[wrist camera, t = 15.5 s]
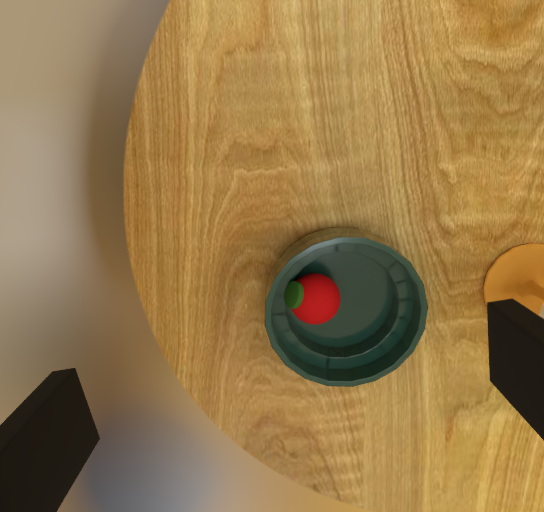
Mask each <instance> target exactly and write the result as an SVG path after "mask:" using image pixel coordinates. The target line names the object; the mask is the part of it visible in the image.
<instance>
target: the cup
mask: <svg viewBox="0 0 544 512" xmlns="http://www.w3.org/2000/svg"><path fill="white" fill-rule="evenodd" d="M483 293H484V300H485V304H486V305H487V302H493V301H499V300H505V299H511V298H513V299H514V300H516V301H517V302H519V303H521V304H522V305H524V306H525V307H527V308H528V309H530V310H531V311H533V312H534V313H536V314H537V315H539V316H540V317H542V318H543V319H544V244H537V243H528V244H524V245H520V246H516V247H513V248H511V249H510V250H508V251H507V252H505V253H504V254H502V255H501V256H499V257H498V258H497V259H496V261H495V262H494V263H493V265H492V266H491V267H490V269H489V270H488V271H487V274H486V278H485V281H484V285H483Z"/></svg>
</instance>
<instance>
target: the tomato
mask: <svg viewBox="0 0 544 512" xmlns="http://www.w3.org/2000/svg"><path fill="white" fill-rule="evenodd" d="M284 300H285V304H286V306H287V307H288V308H291V309H292V311H293V313H294V314H295V316H296V317H297V318H299V319H300V320H301V321H303V322H305V323H308V324H314V325H316V324H322V323H325V322H327V321H329V320H330V319H332V318H333V317H334V316H335V314H336V313H337V311H338V309H339V306H340V292H339V289H338V287H337V285H336V284H335V283H334V282H333V281H332V280H331V279H330V278H329V277H327V276H325V275H322V274H318V273H311V274H307V275H304V276H302V277H300V278H299V279H298V280H297V281H292V282H290V283H289V284H288V286H287V288H286V290H285V296H284Z"/></svg>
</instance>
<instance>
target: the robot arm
mask: <svg viewBox="0 0 544 512" xmlns="http://www.w3.org/2000/svg"><path fill="white" fill-rule="evenodd" d="M487 314H488V341H489V368H490V381H491V382H492V383H493V385H494V386H495V387H496V388H497V389H498V390H499V391H500V392H501V393H502V394H503V396H504V397H505V398H506V399H507V400H508V401H509V402H510V403H511V404H512V406H513V407H514V408H515V409H516V410H517V411H518V412H519V413H520V414H521V416H522V417H523V418H524V419H525V420H526V421H527V422H528V423H529V424H530V426H531V427H532V428H533V429H534V430H535V431H536V432H537V433H538V434H539V436H540V437H541V438H542V439H543V440H544V319H543V318H542V317H540V316H539V315H537V314H536V313H534V312H533V311H531V310H530V309H528V308H527V307H525V306H524V305H522V304H521V303H519V302H517V301H516V300H514V299H513V298H511V299H505V300H499V301H493V302H487ZM99 439H100V438H99V435H98V432H97V429H96V426H95V423H94V421H93V418H92V415H91V412H90V409H89V406H88V403H87V400H86V398H85V395H84V392H83V389H82V386H81V383H80V381H79V378H78V375H77V372H76V369H75V368H71V369H65V370H59V371H53V372H51V374H50V375H49V376H48V377H47V378H46V379H45V380H44V381H43V382H42V383H41V384H40V385H39V386H38V387H37V388H36V389H35V390H34V391H33V392H32V393H31V394H30V395H29V396H28V397H27V398H26V399H25V400H24V401H23V402H22V404H21V405H19V406H18V408H17V409H16V410H15V411H14V412H13V413H12V414H11V415H10V416H9V417H8V418H7V419H6V420H5V421H4V422H3V423H2V424H1V425H0V512H57V510H58V508H59V507H60V505H61V503H62V502H63V499H64V498H65V497H66V495H67V493H68V491H69V490H70V488H71V486H72V485H73V483H74V481H75V479H76V478H77V476H78V475H79V473H80V471H81V470H82V468H83V466H84V464H85V463H86V461H87V459H88V458H89V456H90V454H91V453H92V451H93V449H94V448H95V446H96V444H97V442H98V441H99Z"/></svg>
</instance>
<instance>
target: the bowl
mask: <svg viewBox="0 0 544 512" xmlns="http://www.w3.org/2000/svg"><path fill="white" fill-rule="evenodd" d="M311 273H318V274H322V275H325V276H327V277H329V278H330V279H331V280H332V281H333V282H334V283H335V284H336V285H337V287H338V289H339V292H340V306H339V309H338V311H337V313H336V314H335V316H334V317H333V318H332V319H330V320H329V321H327V322H325V323H322V324H316V325H314V324H308V323H305V322H303V321H301V320H300V319H299V318H297V317H296V316H295V314H294V313H293V311H292V309H291V308H288V307H287V306H286V304H285V300H284V296H285V290H286V288H287V286H288V284H289V283H290V282H292V281H297V280H298V279H299V278H300V277H302V276H304V275H307V274H311ZM427 310H428V305H427V299H426V294H425V289H424V284H423V282H422V280H421V279H420V277H419V276H418V274H417V272H416V271H415V269H414V267H413V266H412V264H411V263H410V262H409V261H408V260H407V259H406V258H405V257H404V256H403V255H401V254H400V253H399V252H398V251H397V250H396V249H395V248H393V247H392V246H391V245H390V244H388V243H387V242H386V241H385V240H383V239H382V238H381V237H379V236H378V235H375V234H372V233H369V232H367V231H364V230H361V229H358V228H344V227H333V228H332V227H331V228H328V229H324V230H321V231H317V232H313V233H310V234H308V235H306V236H305V237H303V238H302V239H300V240H299V241H297V242H296V243H294V244H292V245H291V246H289V247H288V249H287V250H286V251H285V252H284V254H283V255H282V256H281V257H280V258H279V260H278V261H277V262H276V263H275V265H274V267H273V270H272V272H271V275H270V277H269V280H268V283H267V286H266V301H265V327H266V330H267V334H268V337H269V340H270V343H271V346H272V348H273V349H274V350H275V352H276V353H277V354H278V356H279V357H280V358H281V360H282V361H283V362H284V364H285V365H286V366H287V367H289V368H290V369H292V370H293V371H295V372H296V373H297V374H299V375H300V376H302V377H303V378H305V379H308V380H311V381H314V382H317V383H320V384H323V385H326V386H345V387H351V386H352V387H353V386H357V385H361V384H365V383H369V382H373V381H376V380H378V379H380V378H381V377H383V376H385V375H387V374H388V373H390V372H392V371H394V370H396V369H397V368H398V367H399V366H400V365H401V364H402V363H403V362H404V361H405V360H406V359H407V358H408V357H409V356H410V355H411V354H412V353H413V351H414V350H415V348H416V346H417V344H418V342H419V340H420V338H421V336H422V334H423V332H424V330H425V323H426V316H427Z"/></svg>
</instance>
